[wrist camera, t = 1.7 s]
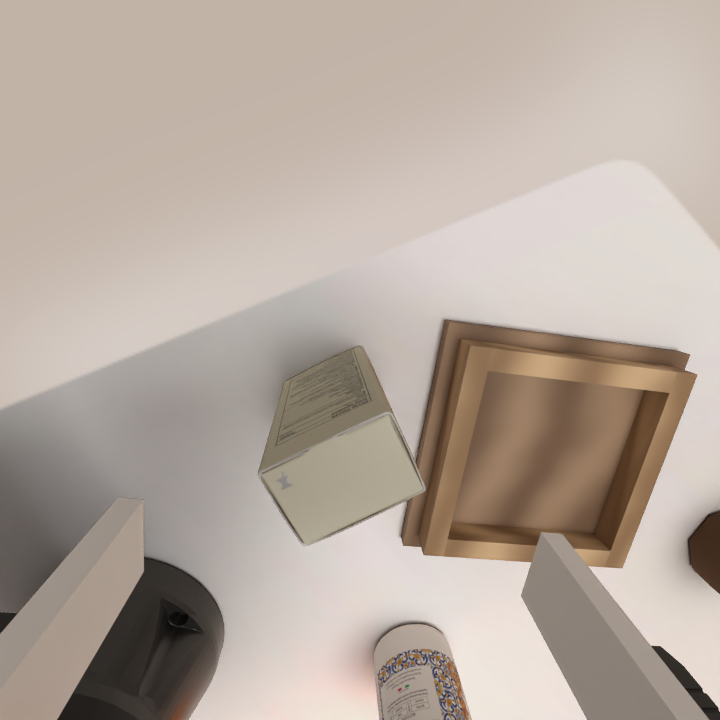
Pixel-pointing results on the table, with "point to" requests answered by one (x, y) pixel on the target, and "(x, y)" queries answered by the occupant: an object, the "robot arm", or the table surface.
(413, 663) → the bath foam
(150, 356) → the table surface
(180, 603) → the robot arm
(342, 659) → the table surface
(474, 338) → the wooden tray
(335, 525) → the skincare box
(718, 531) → the beer bottle
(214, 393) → the table surface
